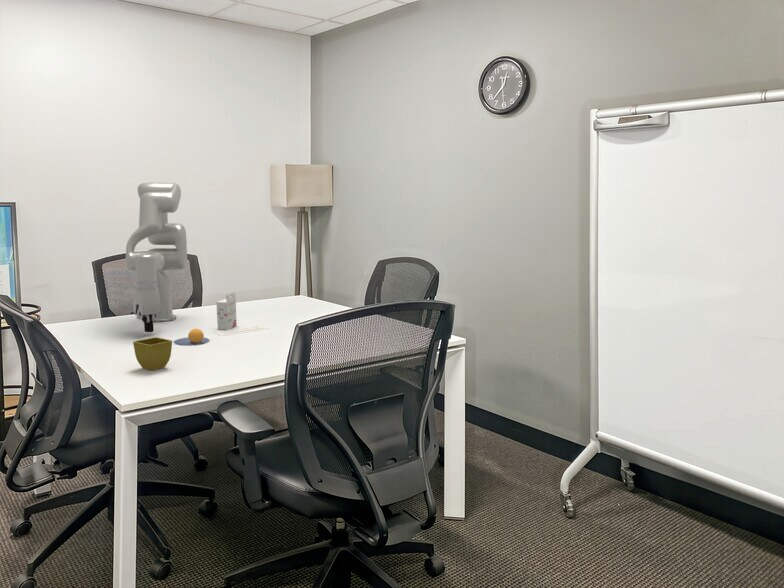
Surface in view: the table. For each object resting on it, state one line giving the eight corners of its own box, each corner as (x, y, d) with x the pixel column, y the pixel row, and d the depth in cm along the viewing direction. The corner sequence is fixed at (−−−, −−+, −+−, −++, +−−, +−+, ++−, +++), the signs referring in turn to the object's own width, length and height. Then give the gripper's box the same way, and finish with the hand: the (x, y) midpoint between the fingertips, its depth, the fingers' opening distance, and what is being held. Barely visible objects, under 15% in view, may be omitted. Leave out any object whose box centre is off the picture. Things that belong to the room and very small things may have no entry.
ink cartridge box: (226, 325, 271) (225, 291, 268) (236, 326, 270) (236, 291, 268) (216, 329, 262) (215, 294, 260) (227, 330, 262) (226, 294, 259)
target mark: (166, 342, 238) (166, 342, 238) (190, 336, 249) (190, 335, 249) (192, 346, 232) (192, 346, 232) (216, 339, 244) (216, 339, 244)
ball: (197, 337, 233) (191, 347, 236) (208, 335, 238) (202, 345, 240) (189, 326, 235) (183, 336, 237) (201, 324, 240) (194, 334, 242)
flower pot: (157, 363, 210) (156, 336, 208) (174, 367, 205) (172, 340, 203) (133, 368, 203) (132, 341, 201) (150, 373, 198) (148, 345, 196)
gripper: (154, 282, 255) (156, 327, 258) (124, 287, 242) (126, 334, 245) (168, 284, 252) (170, 329, 255) (138, 288, 239) (141, 336, 242)
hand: (149, 331), depth 250 cm, fingers closed
